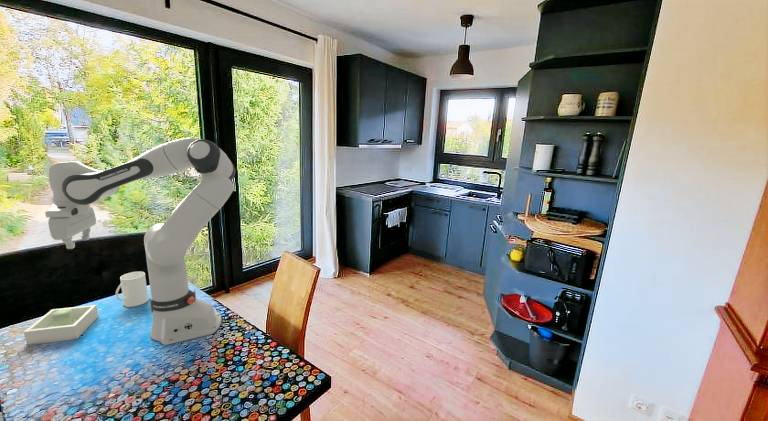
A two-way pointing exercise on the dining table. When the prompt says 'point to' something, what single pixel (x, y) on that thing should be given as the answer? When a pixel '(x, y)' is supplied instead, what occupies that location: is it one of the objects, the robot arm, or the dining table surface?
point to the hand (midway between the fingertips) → (78, 243)
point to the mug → (133, 289)
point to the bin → (48, 333)
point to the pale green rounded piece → (62, 317)
